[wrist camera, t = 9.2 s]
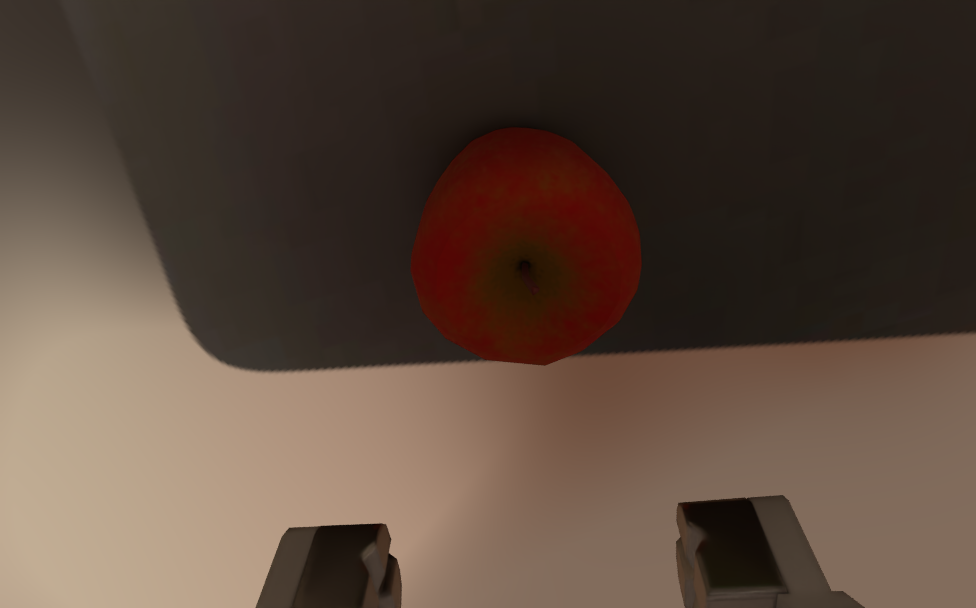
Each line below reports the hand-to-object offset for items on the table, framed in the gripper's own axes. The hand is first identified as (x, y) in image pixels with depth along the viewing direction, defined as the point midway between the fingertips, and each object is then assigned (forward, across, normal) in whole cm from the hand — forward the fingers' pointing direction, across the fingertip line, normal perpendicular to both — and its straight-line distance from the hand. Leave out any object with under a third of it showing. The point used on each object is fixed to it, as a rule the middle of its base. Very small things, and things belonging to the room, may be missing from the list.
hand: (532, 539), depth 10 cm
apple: (+15, 0, 0) cm, 15 cm away
